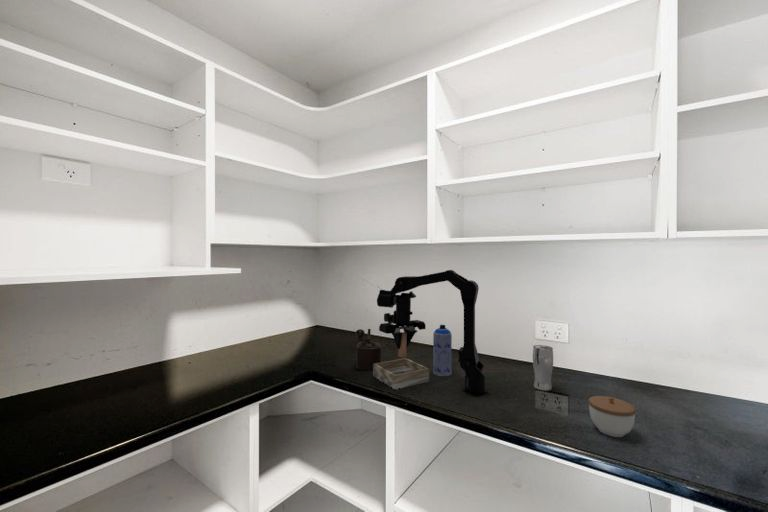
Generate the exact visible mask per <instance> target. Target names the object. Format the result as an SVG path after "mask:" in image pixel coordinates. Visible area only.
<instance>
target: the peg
mask: <svg viewBox="0 0 768 512" xmlns="http://www.w3.org/2000/svg"><path fill="white" fill-rule="evenodd" d="M400 332H401V333H402V339H401V346H400V349H398V348H397V350H398V352H397V356H398V357H399V358H406V357H407V348H408V347H407V333H405V332H404V331H403V332H402V331H400ZM406 347H407V348H406Z"/></svg>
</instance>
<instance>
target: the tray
mask: <svg viewBox="0 0 768 512" xmlns="http://www.w3.org/2000/svg"><path fill="white" fill-rule="evenodd" d="M373 376H374V377H373ZM372 377H373V378H375V377H376V378H375V379H377V380H378V379H379V381H380V382H381V383H383V382H384V385H386V384H387V385H386V386H388V387H390V388H391V387H392V388H391V389H393V390H394V389H395V390H399V388H400V389H404V388H407V387H412V386H417V385H420V384H425V383H429V382H430V368H429V367H426V366H425V365H422V364H420V363H418V362H415V361H413V360H411V359H409V358H406V357H402V358H399V359H393V360H387V361H380V363H375V364H373V370H372Z"/></svg>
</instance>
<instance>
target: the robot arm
mask: <svg viewBox="0 0 768 512" xmlns="http://www.w3.org/2000/svg"><path fill="white" fill-rule="evenodd" d="M443 282H448V283H449V284H451V285H452V286H453V287H455V288H456V289H458V291H460V298H461V302H462V304H463V305H462V306H463V345H462V346H461V347H459V349H458V351H457V353H458V361H457V363H459V366H460V368H461V369H462V370H463V371H464V372H465V376H464V388H461V389H462V391H463V392H466V393H468V394H470V395H472V396H474V397H477V396H481V395H485V394H487V393H488V390H486V388H485V387H486V385H485V383H486V382H485V381H486V379H485V377H486V376H485V375H484V374H483V373H484V370H485V367H486V366H485V365H484V364H483V363H482V362H481V361H480V360H479V353H478V350H477V349H478V348H477V345H476V303H477V299H478V295H479V294H478V293H479V284H478V283H477V282H476V281H474V280H471V279H470V280H469V279H468V278H466V277H464V276H463V275H460V274H459V273H457V272H456V271H454V269H448V270H445V271H441V272H435V273H429V274H424V275H420V276H409V275H408V276H399V277H398V278H396V280H395V281H394V285H393V286H392V288H391V289H390V290H386V289H380V290H379V293H378V294H377V297H376V304H377V306H378V307H380V308H390V309H391V308H394V306H395V310H393V314H391V313H390V312H387V313H386V312H385V313H384V314H383V321H384V323H380V324H379V327H378V330H379V332H382V333H384V334H387V335H388V334H391V335H392V336H393V339H394V343H395V346H396V348H397V350H398V349H400V346H401V339H402V333H401V332H402V331H401V330H403V332H405V333H407V347H406V349H407V348H408V347H409V345H410V343H411V341H412V339H413V337H414V336H415V335H416V333H418V330H426V323H425V322H424V321H421V320H418V319H415V320H413V319H412V320H411V315H413V311H411V301H412V299H415V298H416V297H417V295H416V294H415V293H414V292H413V291H412V290H413V289H416V288H418V287H421V286H425V285H430V284H437V283H443ZM410 290H411V291H410ZM407 291H409V292H407ZM400 293H401V294H400ZM416 328H417V329H418V330H416Z"/></svg>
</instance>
